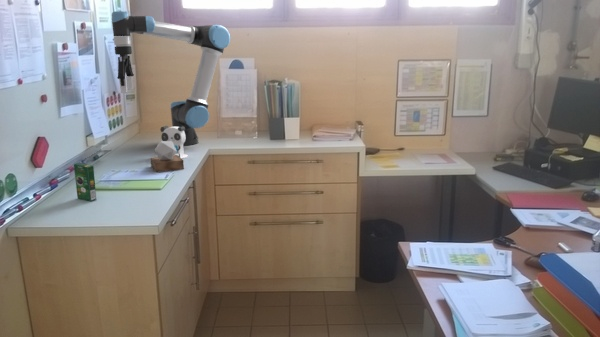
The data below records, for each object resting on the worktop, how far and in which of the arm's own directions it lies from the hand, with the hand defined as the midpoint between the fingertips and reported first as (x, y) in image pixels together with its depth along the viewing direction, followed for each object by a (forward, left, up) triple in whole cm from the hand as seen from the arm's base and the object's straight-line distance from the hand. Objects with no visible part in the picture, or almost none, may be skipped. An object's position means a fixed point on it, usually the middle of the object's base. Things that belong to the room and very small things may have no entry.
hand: (127, 91), depth 258 cm
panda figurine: (-18, +12, -32) cm, 39 cm away
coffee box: (+26, +66, -32) cm, 78 cm away
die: (-10, +33, -28) cm, 44 cm away
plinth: (-10, +32, -32) cm, 46 cm away
